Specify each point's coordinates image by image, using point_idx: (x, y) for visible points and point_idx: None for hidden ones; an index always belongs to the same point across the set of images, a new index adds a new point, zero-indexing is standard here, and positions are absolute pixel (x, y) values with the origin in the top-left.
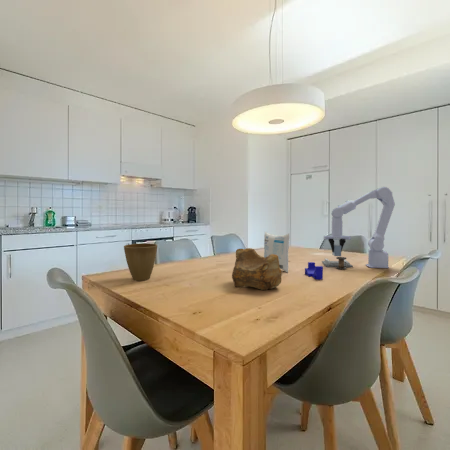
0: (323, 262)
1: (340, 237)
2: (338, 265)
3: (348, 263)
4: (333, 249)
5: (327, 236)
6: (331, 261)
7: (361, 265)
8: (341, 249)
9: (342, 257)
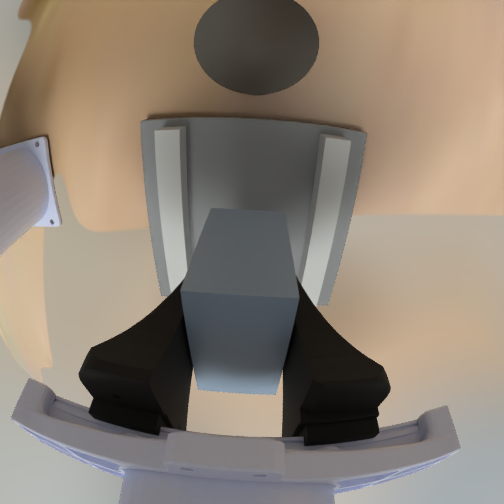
0: (342, 252)
1: (160, 450)
2: (262, 119)
3: (167, 129)
4: None
5: (424, 460)
6: None
7: (83, 214)
8: None
9: (237, 50)
